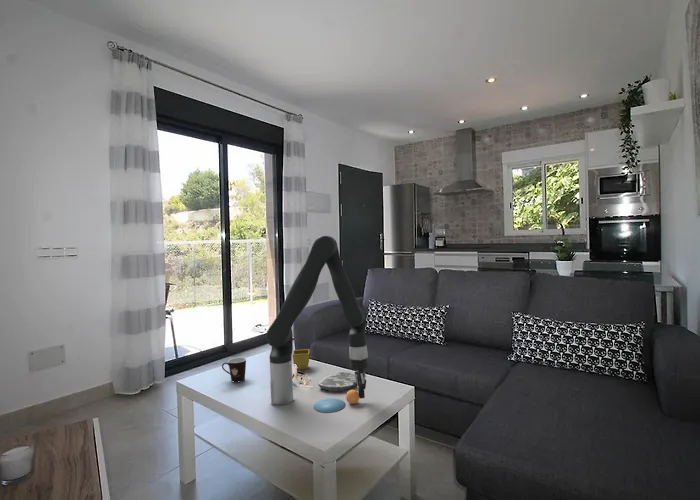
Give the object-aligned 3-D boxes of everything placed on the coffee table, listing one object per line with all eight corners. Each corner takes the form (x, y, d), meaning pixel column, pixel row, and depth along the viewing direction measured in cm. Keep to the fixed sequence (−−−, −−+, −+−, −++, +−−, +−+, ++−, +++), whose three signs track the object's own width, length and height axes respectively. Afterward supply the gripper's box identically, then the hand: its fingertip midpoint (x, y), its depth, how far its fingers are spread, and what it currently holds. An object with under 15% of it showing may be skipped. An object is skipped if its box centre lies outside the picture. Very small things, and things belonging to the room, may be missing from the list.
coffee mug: (250, 378, 190) (249, 358, 190) (237, 384, 183) (236, 364, 183) (234, 375, 196) (234, 355, 196) (221, 380, 189) (220, 360, 189)
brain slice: (343, 397, 164) (343, 390, 164) (312, 390, 174) (312, 383, 173) (367, 382, 180) (366, 376, 180) (337, 376, 190) (337, 370, 190)
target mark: (314, 414, 148) (314, 413, 148) (312, 400, 161) (312, 400, 161) (347, 410, 150) (347, 410, 150) (342, 397, 163) (342, 397, 163)
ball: (359, 406, 155) (346, 406, 154) (357, 400, 160) (344, 399, 159) (361, 393, 154) (347, 393, 153) (358, 387, 160) (345, 387, 159)
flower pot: (294, 366, 207) (293, 349, 207) (310, 365, 208) (309, 348, 208) (293, 371, 198) (292, 354, 198) (309, 370, 199) (309, 353, 199)
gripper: (347, 352, 163) (350, 392, 163) (352, 362, 150) (355, 405, 150) (364, 350, 164) (367, 390, 165) (371, 359, 151) (374, 402, 152)
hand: (361, 397), depth 157 cm, fingers closed
